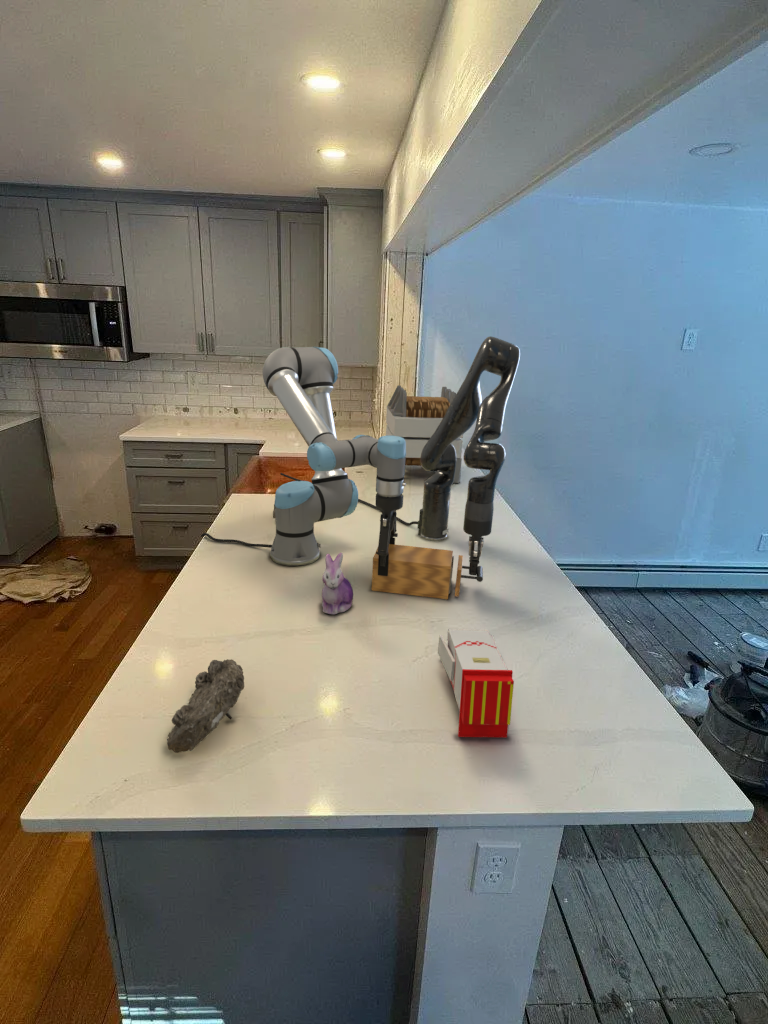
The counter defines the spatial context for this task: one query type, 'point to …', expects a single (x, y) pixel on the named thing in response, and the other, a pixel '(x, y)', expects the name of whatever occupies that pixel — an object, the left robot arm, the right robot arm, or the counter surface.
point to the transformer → (419, 423)
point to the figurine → (335, 587)
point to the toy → (478, 682)
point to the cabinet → (414, 571)
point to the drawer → (459, 576)
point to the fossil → (206, 705)
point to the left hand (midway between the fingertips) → (386, 566)
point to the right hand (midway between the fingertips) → (472, 574)
